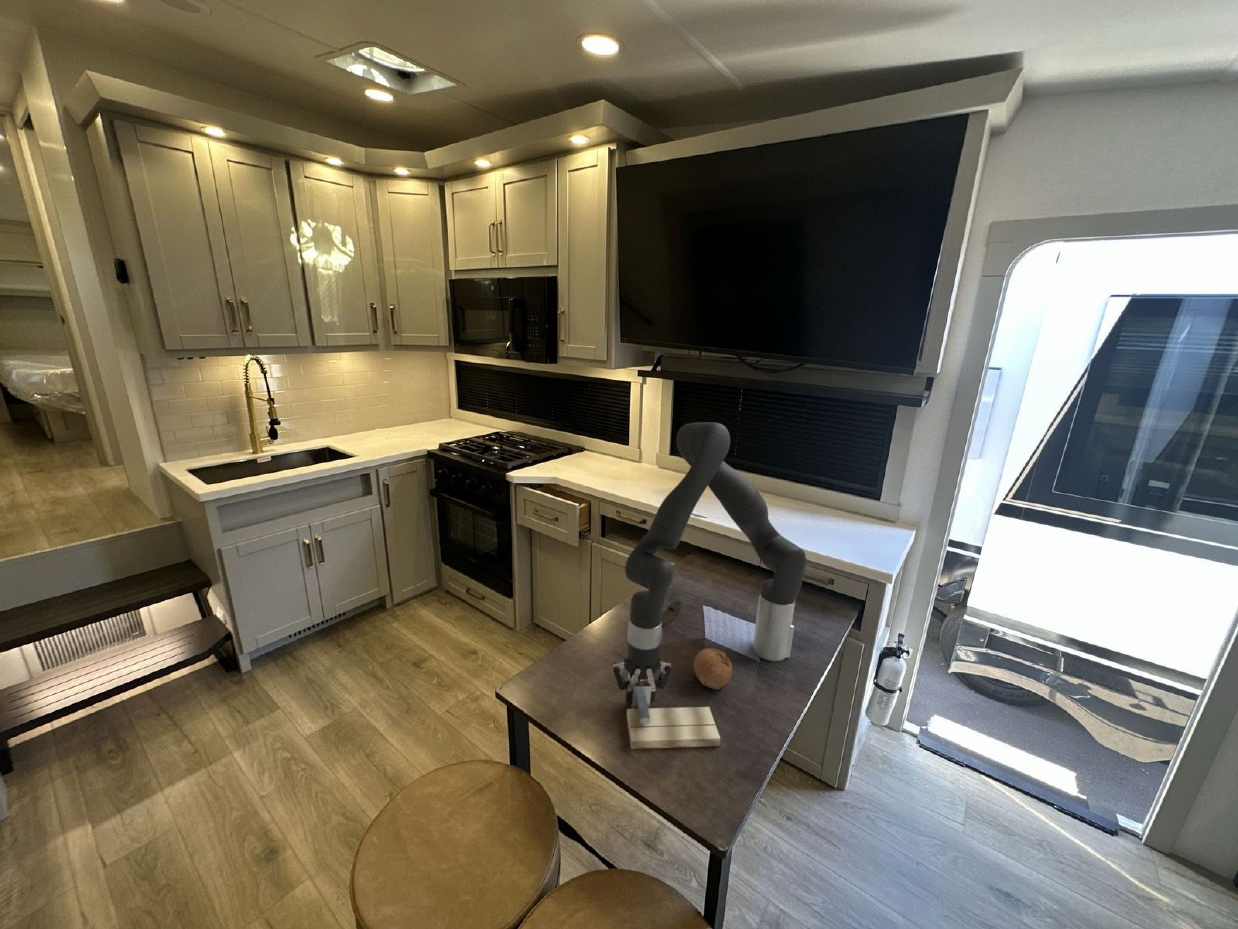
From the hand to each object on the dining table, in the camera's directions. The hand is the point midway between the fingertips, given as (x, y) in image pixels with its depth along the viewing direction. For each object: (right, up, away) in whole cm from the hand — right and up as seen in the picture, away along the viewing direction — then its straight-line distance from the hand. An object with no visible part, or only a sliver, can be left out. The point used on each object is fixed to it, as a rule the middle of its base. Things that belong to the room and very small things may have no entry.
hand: (639, 701), depth 114 cm
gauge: (0, -2, -3) cm, 3 cm away
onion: (+18, 0, +10) cm, 21 cm away
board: (+7, -4, -6) cm, 10 cm away
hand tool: (+8, +7, +34) cm, 36 cm away
